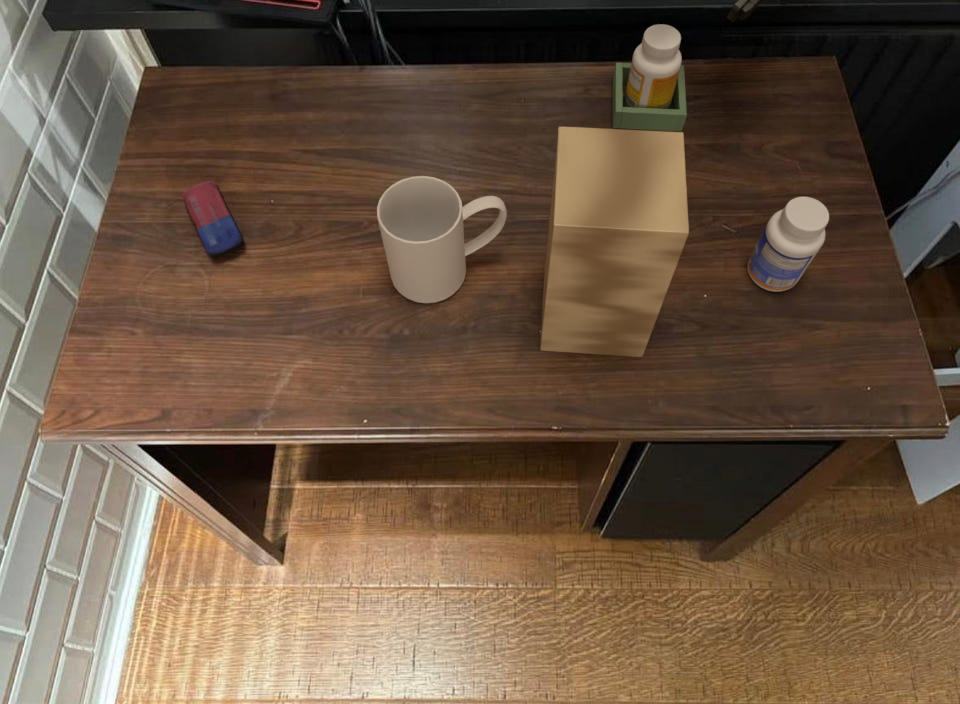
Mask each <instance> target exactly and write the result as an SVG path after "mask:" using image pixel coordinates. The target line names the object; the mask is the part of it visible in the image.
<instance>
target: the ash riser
mask: <svg viewBox="0 0 960 704" xmlns="http://www.w3.org/2000/svg"><path fill="white" fill-rule="evenodd" d="M685 150H686V149H685V135H684V132H683V131H661V130H640V129H620V128H603V127H602V128H601V127H600V128H599V127H579V126H558V127H557V139H556V149H555V159H554V169H553V178H552V188H551V198H550V209H549V210H550V211H549V219H548V228H547V238H546V247H545V248H546V249H545V257H544V268H543V269H544V271H543V287H542V288H543V289H542V305H541V306H542V307H541V308H542V309H541V324H540V325H541V326H540V343H539V344H540V346H539V350H540V351H541V352H556V353H557V352H558V353H571V354H586V355H587V354H588V355H601V356H616V357H617V356H618V357H632V358H643V357H644V354H645V352H646V348H647V346H648V344H649V341H650V338H651V335H652V332H653V330H654V327H655V324H656V322H657V319H658V318H659V314H660V312H661V308H662V306H663V303H664V302H665V301H664V300H665V298H666V294H667V293H668V289H669V287H670V285H671V282H672V279H673V277H674V274H675V271H676V268H677V266H678V263H679V260H680V258H681V255H682V253H683V250H684V247H685V244H686V242H687V239H688V237H689V233H690V224H689V222H690V221H689V207H688V206H689V205H688V190H687V189H688V188H687V171H686V169H687V168H686V151H685Z"/></svg>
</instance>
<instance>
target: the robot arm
mask: <svg viewBox="0 0 960 704" xmlns="http://www.w3.org/2000/svg"><path fill="white" fill-rule="evenodd" d="M763 1H764V0H737V1H736V2H735V3H734V4H733V5H732V6H731V9H730V10H729V12H728V15H727V19H728V20H729V21H731V22H732V23H734V22H735V21H737V19H739V20H740V21H743V20H745V19H747V18H748V17H749V16H750V15H751V14H752V13H753V12H754V11H755V10H756V9H757V8H758V6H759V5H760V4H761V3H763ZM776 1H777V3H778V4H779V5H780V6H787V5H788V4H789V3H790V2H791V1H792V0H776Z"/></svg>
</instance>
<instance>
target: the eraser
mask: <svg viewBox="0 0 960 704" xmlns="http://www.w3.org/2000/svg"><path fill="white" fill-rule="evenodd" d="M182 201H183V203H184V205H185V208H186V210H187V212H188V214H189V216H190V218H191V220H192V223H193V225H194V228H195V229H196V232H197V234H198V236H199V238H200V240H201V243H202V245H203V246H204V249H205V251H206V253H207V254H208V256H209V257H210V258H211V259H212V260H218V259H219V258H220V259H221V258H222V257H224V256H227V255H229V254H231V253H233V252H235V251H237V250H240V249H242V248H243V247H244V246H245V245H246V242H245V240H244V237H243V235H242V232H241V230H240V228H239V225H238V223H237V222H236V220H235V218H234V216H233V215H232V213H231V210H230V208H229V206H228V204H227V202H226V200H225V198H224V196H223V194H222V192H221V189H220V187H219V186H218V184H217V183H216V182H215V181H213V180H206V181H203V182H201V183H198V184H195V185H193V186H190V187H188V188H187V189H185V190H184V191H183V193H182Z"/></svg>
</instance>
